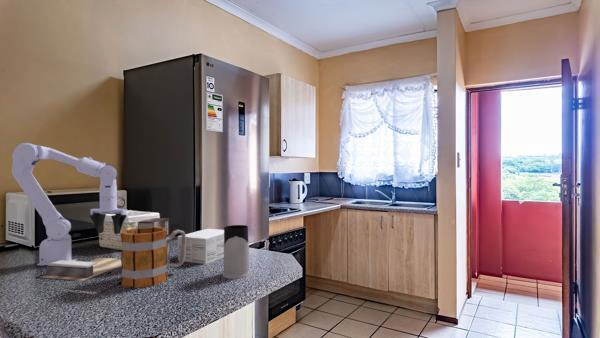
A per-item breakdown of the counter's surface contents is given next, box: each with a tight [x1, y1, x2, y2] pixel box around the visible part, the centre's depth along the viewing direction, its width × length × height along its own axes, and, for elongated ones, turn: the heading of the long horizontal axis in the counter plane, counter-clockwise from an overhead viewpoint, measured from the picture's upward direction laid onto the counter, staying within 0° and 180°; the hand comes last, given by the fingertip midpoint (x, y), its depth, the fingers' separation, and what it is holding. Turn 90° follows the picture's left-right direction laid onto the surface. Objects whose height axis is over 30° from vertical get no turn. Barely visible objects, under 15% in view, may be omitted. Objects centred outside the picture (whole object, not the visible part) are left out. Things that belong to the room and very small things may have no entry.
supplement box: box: [177, 228, 224, 265], centre depth 134 cm, size 17×13×9 cm
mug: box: [120, 227, 186, 289], centre depth 108 cm, size 20×14×15 cm
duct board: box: [40, 257, 122, 281], centre depth 118 cm, size 16×24×4 cm, turn 167°
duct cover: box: [47, 260, 97, 268], centre depth 110 cm, size 14×4×1 cm, turn 77°
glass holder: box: [222, 224, 252, 280], centre depth 113 cm, size 9×14×15 cm, turn 9°
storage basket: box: [98, 209, 161, 251], centre depth 154 cm, size 24×16×15 cm
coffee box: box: [138, 217, 171, 263], centre depth 122 cm, size 9×6×16 cm
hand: (108, 233), depth 133 cm, fingers open, 7 cm apart
